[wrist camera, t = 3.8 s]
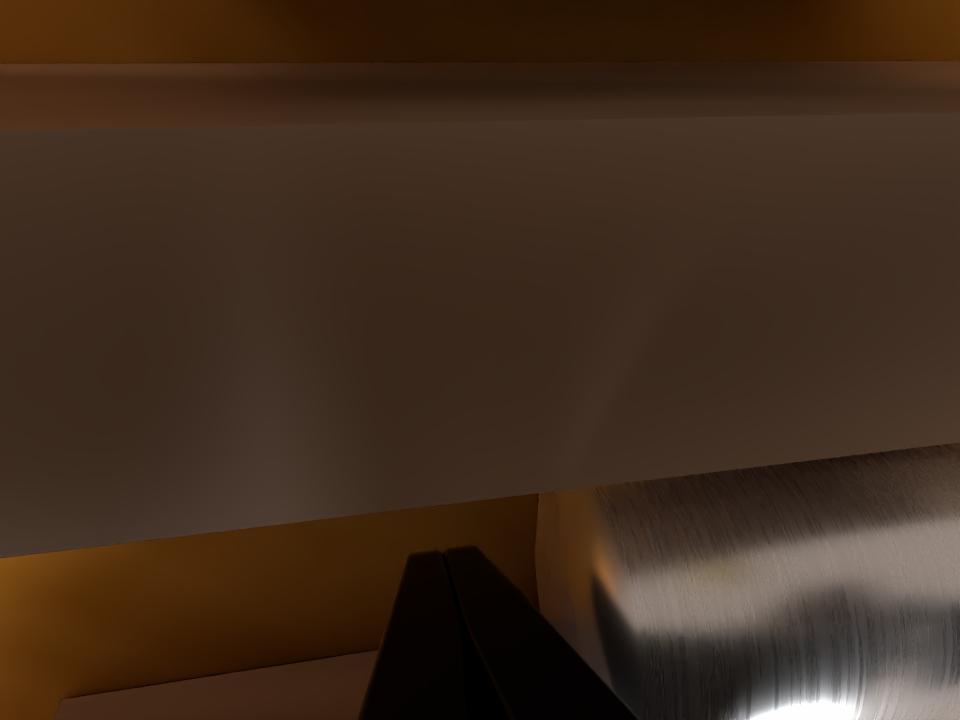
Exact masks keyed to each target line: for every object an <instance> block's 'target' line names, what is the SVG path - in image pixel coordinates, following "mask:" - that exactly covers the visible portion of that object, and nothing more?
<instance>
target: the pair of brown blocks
mask: <svg viewBox="0 0 960 720" xmlns="http://www.w3.org/2000/svg"><path fill="white" fill-rule="evenodd" d="M959 442H960V61H736V62H401V63H67V64H0V558H7V557H15V556H24V555H32V554H40V553H48V552H57V551H65V550H73V549H81V548H90V547H98V546H106V545H115V544H123V543H131V542H139V541H148V540H156V539H164V538H173V537H181V536H189V535H197V534H206V533H214V532H222V531H230V530H239V529H247V528H255V527H264V526H272V525H280V524H288V523H297V522H305V521H313V520H322V519H330V518H338V517H346V516H355V515H363V514H371V513H380V512H388V511H396V510H404V509H413V508H421V507H429V506H437V505H446V504H454V503H462V502H471V501H479V500H487V499H495V498H504V497H512V496H520V495H529V494H537V493H545V492H553V491H562V490H570V489H578V488H586V487H595V486H603V485H611V484H620V483H628V482H636V481H644V480H653V479H661V478H669V477H678V476H686V475H694V474H702V473H711V472H719V471H727V470H736V469H744V468H752V467H760V466H769V465H777V464H785V463H793V462H802V461H810V460H818V459H827V458H835V457H843V456H851V455H860V454H868V453H876V452H885V451H893V450H901V449H909V448H918V447H926V446H934V445H942V444H951V443H959ZM377 653H378V650H375V651H369V652H362V653H356V654H350V655H343V656H337V657H331V658H324V659H318V660H311V661H305V662H299V663H292V664H286V665H280V666H273V667H267V668H260V669H254V670H248V671H241V672H235V673H228V674H222V675H216V676H209V677H203V678H197V679H190V680H184V681H177V682H171V683H165V684H158V685H152V686H146V687H139V688H133V689H126V690H120V691H114V692H107V693H101V694H94V695H88V696H82V697H75V698H69V699H63V700H61V701H60V704H59V707H58V710H57V713H56V716H55V718H54V720H357V718H358V715H359V712H360V708H361V705H362V702H363V699H364V695H365V692H366V689H367V686H368V682H369V679H370V676H371V673H372V669H373V666H374V663H375V660H376V656H377Z"/></svg>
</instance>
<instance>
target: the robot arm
mask: <svg viewBox="0 0 960 720" xmlns="http://www.w3.org/2000/svg"><path fill="white" fill-rule="evenodd" d="M357 720H641V719H640V718H639V717H638V716H637V715H636V714H635V713H634V712H633V711H632V710H631V709H630V708H629V707H628V706H627V705H626V703H625V702H624V701H623V700H622V699H621V698H620V697H619V696H618V695H617V694H616V693H615V692H614V691H613V690H612V689H611V687H610V686H609V685H608V684H607V683H606V682H605V681H604V680H603V679H602V678H601V677H600V676H599V675H598V674H597V673H596V672H595V670H594V669H593V668H592V667H591V666H590V665H589V664H588V663H587V662H586V661H585V660H584V659H583V658H582V657H581V656H580V654H579V653H578V652H577V651H576V650H575V649H574V648H573V647H572V646H571V645H570V644H569V643H568V642H567V641H566V640H565V639H564V637H563V636H562V635H561V634H560V633H559V632H558V631H557V630H556V629H555V628H554V627H553V626H552V625H551V624H550V623H549V622H548V620H547V619H546V618H545V617H544V616H543V615H542V614H541V613H540V612H539V611H538V610H537V609H536V608H535V607H534V606H533V604H532V603H531V602H530V601H529V600H528V599H527V598H526V597H525V596H524V595H523V594H522V593H521V592H520V591H519V590H518V589H517V587H516V586H515V585H514V584H513V583H512V582H511V581H510V580H509V579H508V578H507V577H506V576H505V575H504V574H503V573H502V571H501V570H500V569H499V568H498V567H497V566H496V565H495V564H494V563H493V562H492V561H491V560H490V559H489V558H488V557H487V556H486V554H485V553H484V552H483V551H482V550H481V549H480V548H479V547H478V546H476V545H473V544H470V545H463V546H456V547H449V548H446V549H445V550H444V551H443V554H442V552H441V551H440V550H438V549H434V550H427V551H420V552H413V553H410V554H409V555H408V557H407V559H406V562H405V565H404V568H403V571H402V575H401V578H400V581H399V585H398V588H397V591H396V594H395V598H394V601H393V604H392V607H391V611H390V614H389V617H388V620H387V624H386V627H385V630H384V633H383V637H382V640H381V643H380V646H379V650H378V653H377V656H376V660H375V663H374V666H373V669H372V673H371V676H370V679H369V682H368V686H367V689H366V692H365V695H364V699H363V702H362V705H361V708H360V712H359V715H358V718H357Z"/></svg>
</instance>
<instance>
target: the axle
mask: <svg viewBox="0 0 960 720" xmlns="http://www.w3.org/2000/svg"><path fill="white" fill-rule="evenodd" d="M535 570H536V581H537V590H538V598H539V606H540V612H541V614H542V615H543V616H544V617H545V618H546V619H547V620H548V622H549V623H550V624H551V625H552V626H553V627H554V628H555V629H556V630H557V631H558V632H559V633H560V634H561V635H562V636H563V637H564V639H565V640H566V641H567V642H568V643H569V644H570V645H571V646H572V647H573V648H574V649H575V650H576V651H577V652H578V653H579V654H580V656H581V657H582V658H583V659H584V660H585V661H586V662H587V663H588V664H589V665H590V666H591V667H592V668H593V669H594V670H595V672H596V673H597V674H598V675H599V676H600V677H601V678H602V679H603V680H604V681H605V682H606V683H607V684H608V685H609V686H610V687H611V689H612V690H613V691H614V692H615V693H616V694H617V695H618V696H619V697H620V698H621V699H622V700H623V701H624V702H625V703H626V705H627V706H628V707H629V708H630V709H631V710H632V711H633V712H634V713H635V714H636V715H637V716H638V717H639V718H640V719H641V720H960V442H959V443H951V444H942V445H934V446H926V447H918V448H909V449H901V450H893V451H885V452H876V453H868V454H860V455H851V456H843V457H835V458H827V459H818V460H810V461H802V462H793V463H785V464H777V465H769V466H760V467H752V468H744V469H736V470H727V471H719V472H711V473H702V474H694V475H686V476H678V477H669V478H661V479H653V480H644V481H636V482H628V483H620V484H611V485H603V486H595V487H586V488H578V489H570V490H562V491H553V492H545V493H539V503H538V517H537V530H536V544H535Z"/></svg>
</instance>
